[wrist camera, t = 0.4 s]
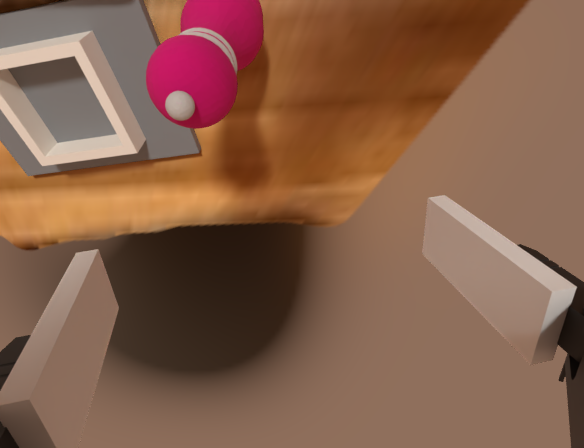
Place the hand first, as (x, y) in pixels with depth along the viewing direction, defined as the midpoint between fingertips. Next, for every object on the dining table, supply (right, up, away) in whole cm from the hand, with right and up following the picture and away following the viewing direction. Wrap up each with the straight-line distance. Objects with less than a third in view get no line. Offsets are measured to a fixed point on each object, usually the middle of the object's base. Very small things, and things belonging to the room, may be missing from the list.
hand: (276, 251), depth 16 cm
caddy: (-24, +16, +29) cm, 41 cm away
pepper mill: (-5, +22, +23) cm, 32 cm away
